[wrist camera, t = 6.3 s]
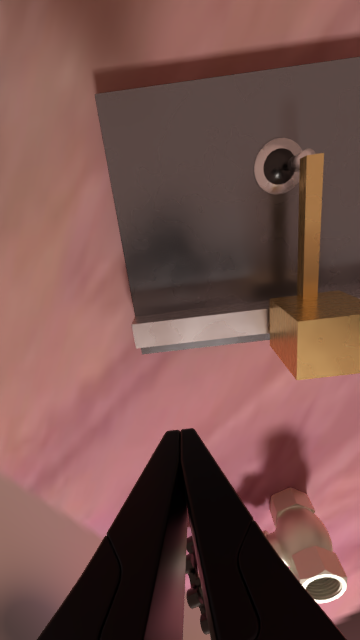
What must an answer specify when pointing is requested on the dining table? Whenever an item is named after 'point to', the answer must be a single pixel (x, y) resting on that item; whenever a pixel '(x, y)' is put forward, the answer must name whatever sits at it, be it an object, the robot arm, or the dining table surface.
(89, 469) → the dining table surface
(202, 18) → the dining table surface
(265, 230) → the bolt plate dividers
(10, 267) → the dining table surface
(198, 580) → the valve
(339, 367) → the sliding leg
